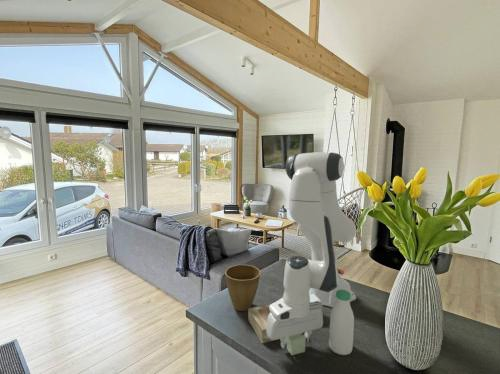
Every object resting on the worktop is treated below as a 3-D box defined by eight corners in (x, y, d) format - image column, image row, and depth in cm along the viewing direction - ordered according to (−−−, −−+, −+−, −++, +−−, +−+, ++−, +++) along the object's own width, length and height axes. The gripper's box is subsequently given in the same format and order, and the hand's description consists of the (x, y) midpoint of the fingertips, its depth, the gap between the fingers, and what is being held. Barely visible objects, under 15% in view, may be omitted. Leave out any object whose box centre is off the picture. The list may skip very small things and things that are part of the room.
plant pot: (218, 306, 118) (218, 270, 116) (244, 294, 128) (244, 261, 126) (240, 321, 107) (240, 283, 105) (266, 307, 117) (267, 272, 115)
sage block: (297, 342, 96) (297, 329, 95) (304, 351, 91) (305, 338, 91) (284, 345, 94) (285, 332, 93) (291, 355, 89) (292, 341, 89)
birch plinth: (282, 313, 113) (282, 301, 112) (299, 333, 100) (300, 320, 99) (248, 320, 108) (248, 307, 107) (262, 343, 95) (262, 329, 94)
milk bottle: (357, 353, 91) (360, 296, 88) (337, 358, 88) (340, 300, 86) (343, 338, 98) (346, 285, 96) (324, 342, 96) (326, 288, 93)
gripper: (317, 295, 97) (315, 331, 99) (264, 306, 90) (264, 344, 92) (327, 304, 91) (326, 342, 93) (272, 317, 84) (271, 357, 86)
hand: (294, 343), depth 92 cm, fingers open, 7 cm apart
